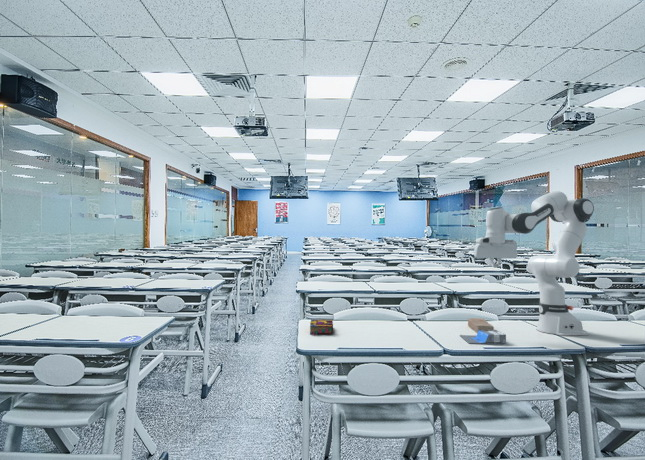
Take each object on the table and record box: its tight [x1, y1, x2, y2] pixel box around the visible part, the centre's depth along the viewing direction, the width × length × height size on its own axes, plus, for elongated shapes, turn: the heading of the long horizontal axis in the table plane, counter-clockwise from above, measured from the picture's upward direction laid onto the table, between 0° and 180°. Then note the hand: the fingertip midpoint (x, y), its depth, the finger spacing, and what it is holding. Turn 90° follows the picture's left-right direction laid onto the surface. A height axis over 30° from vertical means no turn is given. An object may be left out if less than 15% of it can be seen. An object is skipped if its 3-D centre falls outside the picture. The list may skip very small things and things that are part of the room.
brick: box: [467, 317, 495, 334], centre depth 192 cm, size 17×8×5 cm, turn 175°
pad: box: [459, 334, 504, 345], centre depth 172 cm, size 15×13×1 cm
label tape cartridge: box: [472, 329, 507, 343], centre depth 170 cm, size 9×4×12 cm
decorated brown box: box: [309, 318, 334, 336], centre depth 187 cm, size 11×16×5 cm
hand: (495, 267), depth 185 cm, fingers closed
